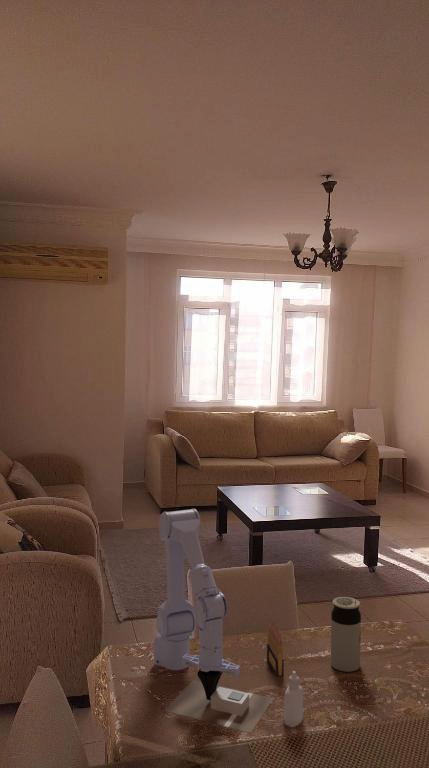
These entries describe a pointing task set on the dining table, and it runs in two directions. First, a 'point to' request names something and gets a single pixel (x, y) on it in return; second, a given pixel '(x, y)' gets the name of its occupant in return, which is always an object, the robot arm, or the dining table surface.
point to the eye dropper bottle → (293, 702)
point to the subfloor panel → (199, 708)
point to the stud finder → (230, 701)
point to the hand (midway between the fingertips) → (210, 698)
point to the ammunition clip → (275, 650)
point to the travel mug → (345, 634)
